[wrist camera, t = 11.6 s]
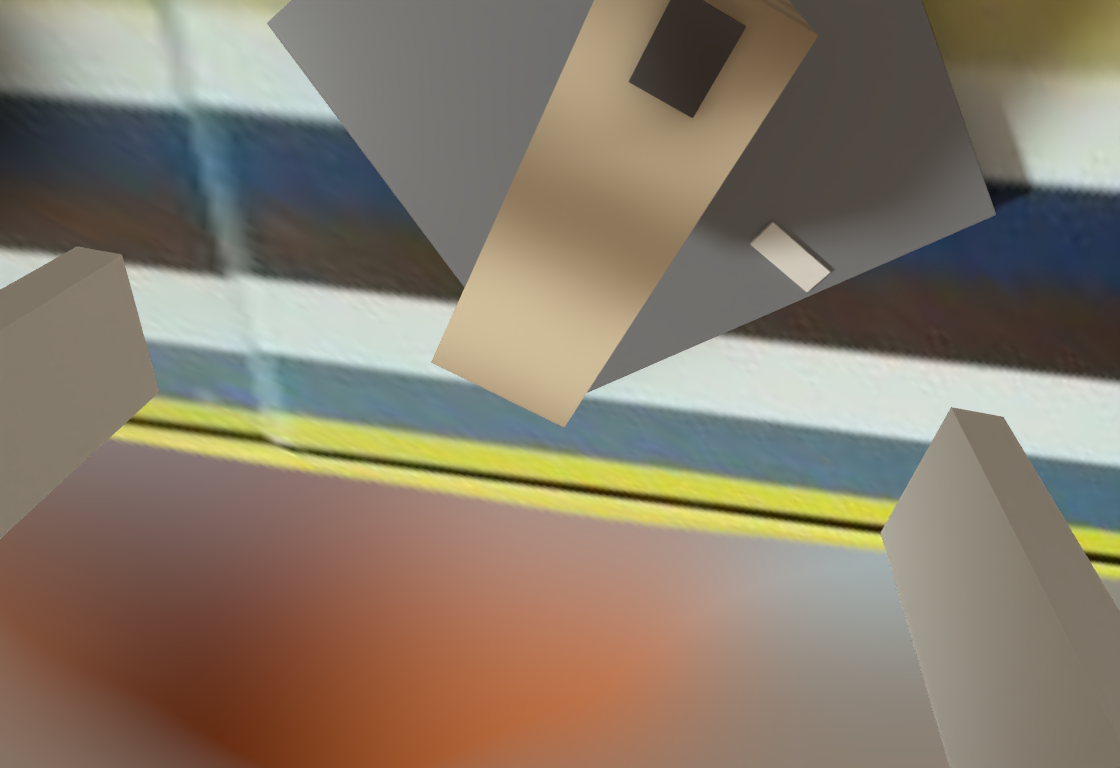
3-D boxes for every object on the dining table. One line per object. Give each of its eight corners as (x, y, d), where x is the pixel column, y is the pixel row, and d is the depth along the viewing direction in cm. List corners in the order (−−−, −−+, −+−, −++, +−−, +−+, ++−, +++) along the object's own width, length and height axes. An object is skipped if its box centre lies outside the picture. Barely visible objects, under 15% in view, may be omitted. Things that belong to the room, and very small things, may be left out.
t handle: (590, 328, 26) (562, 433, 21) (483, 273, 25) (428, 368, 20) (789, 1, 19) (820, 38, 14) (648, -84, 19) (627, -78, 13)
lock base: (559, 389, 36) (536, 467, 31) (285, 17, 28) (197, 42, 23) (982, 200, 27) (1043, 266, 22) (765, -416, 19) (787, -523, 14)
